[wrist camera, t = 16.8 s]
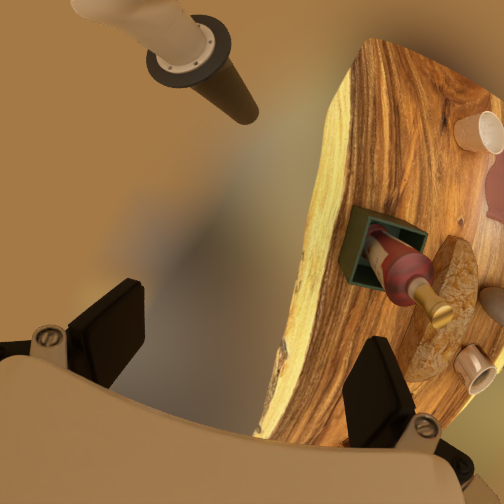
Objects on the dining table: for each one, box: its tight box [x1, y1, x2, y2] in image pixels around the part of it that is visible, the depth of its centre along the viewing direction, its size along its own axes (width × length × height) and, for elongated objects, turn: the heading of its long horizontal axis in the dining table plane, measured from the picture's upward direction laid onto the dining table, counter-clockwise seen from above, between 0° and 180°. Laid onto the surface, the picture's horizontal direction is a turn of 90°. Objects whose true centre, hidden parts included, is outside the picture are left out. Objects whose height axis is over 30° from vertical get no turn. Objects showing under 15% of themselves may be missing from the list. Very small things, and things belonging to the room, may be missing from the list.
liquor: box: [361, 224, 453, 329], centre depth 34 cm, size 7×7×28 cm
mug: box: [454, 343, 497, 395], centre depth 47 cm, size 10×12×11 cm
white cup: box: [454, 111, 504, 154], centre depth 33 cm, size 8×8×10 cm
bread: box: [397, 235, 478, 382], centre depth 46 cm, size 36×11×10 cm, turn 175°
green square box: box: [338, 205, 428, 292], centre depth 43 cm, size 11×11×10 cm
